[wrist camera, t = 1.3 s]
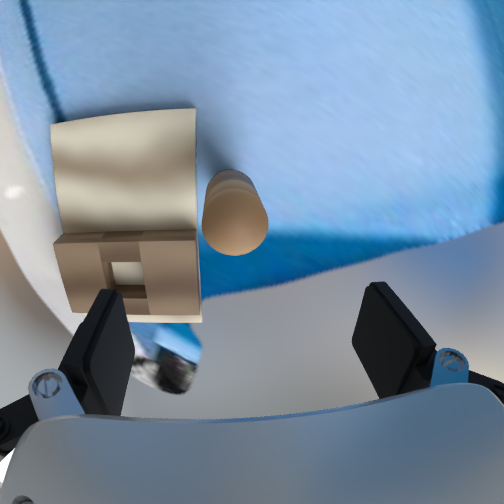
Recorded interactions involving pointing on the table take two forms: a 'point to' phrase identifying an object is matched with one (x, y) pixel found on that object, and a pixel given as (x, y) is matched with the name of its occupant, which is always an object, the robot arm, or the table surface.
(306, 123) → the table surface
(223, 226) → the tan rounded cylinder
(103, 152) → the subfloor panel
